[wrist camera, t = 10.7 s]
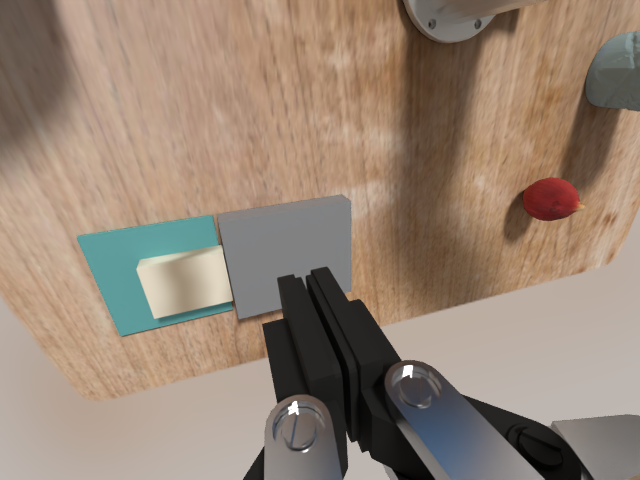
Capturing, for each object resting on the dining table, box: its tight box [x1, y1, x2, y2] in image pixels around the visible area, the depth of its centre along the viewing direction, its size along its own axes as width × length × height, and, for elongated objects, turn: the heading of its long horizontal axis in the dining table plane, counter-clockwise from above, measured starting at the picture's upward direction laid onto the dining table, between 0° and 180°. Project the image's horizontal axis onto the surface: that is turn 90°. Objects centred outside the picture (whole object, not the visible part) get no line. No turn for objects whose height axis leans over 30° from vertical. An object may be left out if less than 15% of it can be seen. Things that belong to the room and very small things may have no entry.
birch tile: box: [136, 245, 233, 319], centre depth 33 cm, size 8×6×2 cm
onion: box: [523, 178, 585, 221], centre depth 42 cm, size 6×6×8 cm
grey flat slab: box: [217, 195, 351, 319], centre depth 36 cm, size 14×12×2 cm
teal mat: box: [77, 215, 233, 336], centre depth 33 cm, size 12×12×1 cm
